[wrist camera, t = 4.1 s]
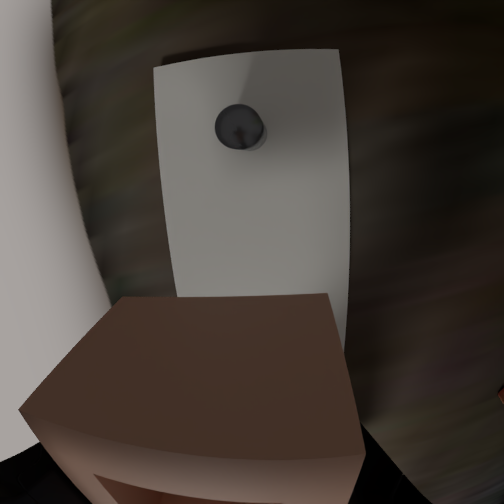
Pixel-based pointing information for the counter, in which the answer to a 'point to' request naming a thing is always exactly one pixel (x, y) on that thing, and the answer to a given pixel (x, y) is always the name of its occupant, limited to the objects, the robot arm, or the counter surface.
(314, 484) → the pink hollow square block
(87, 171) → the counter surface
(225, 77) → the base plate
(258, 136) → the steel pin
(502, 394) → the cracker box
